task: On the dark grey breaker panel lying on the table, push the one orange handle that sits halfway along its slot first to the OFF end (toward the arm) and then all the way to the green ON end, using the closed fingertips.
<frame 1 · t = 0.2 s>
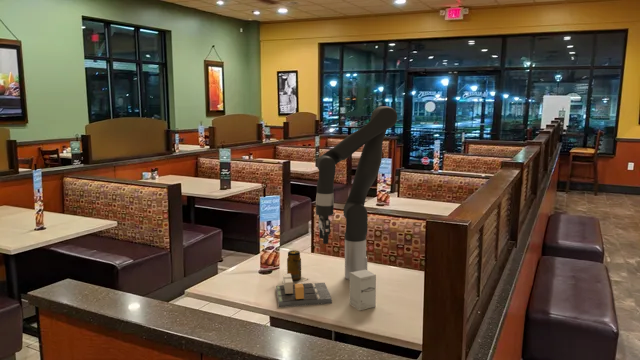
hand: (323, 240, 206), 17 cm above the table, tool pointing down, fingers open, 8 cm apart
tripped breaker: (299, 291, 184), point 5 cm above the table, slide at 4.5 cm
panel: (302, 296, 190), on the table
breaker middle: (288, 286, 189), point 5 cm above the table, slide at 8.0 cm
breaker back: (287, 280, 195), point 5 cm above the table, slide at 8.0 cm
condiment: (295, 279, 210), on the table
supplement box: (362, 306, 181), on the table
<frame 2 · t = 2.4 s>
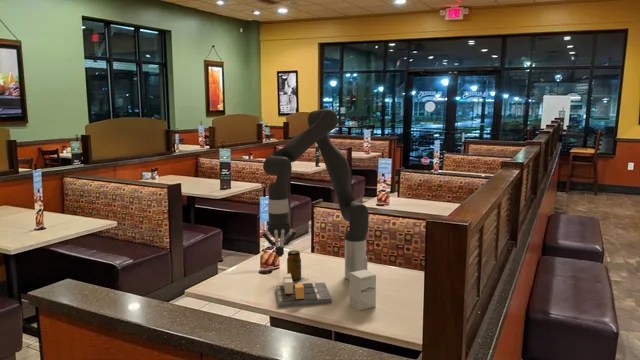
hand: (279, 256, 180), 19 cm above the table, tool pointing down, fingers closed
nothing on the table moved.
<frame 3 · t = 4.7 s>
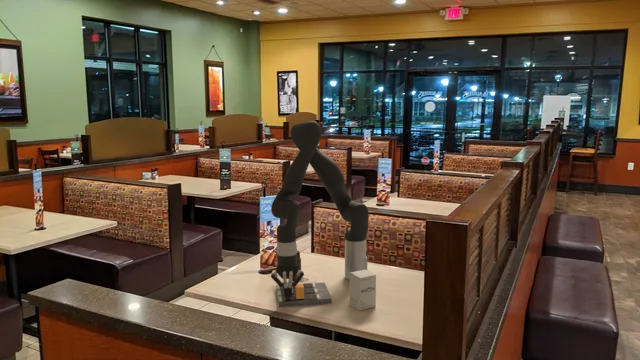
hand: (288, 296, 183), 3 cm above the table, tool pointing down, fingers closed
tripped breaker: (299, 291, 184), point 5 cm above the table, slide at 4.4 cm, touching gripper
everything else where it was.
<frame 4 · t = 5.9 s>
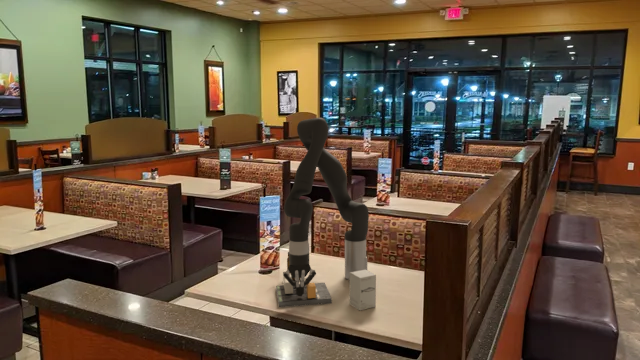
hand: (299, 295, 184), 3 cm above the table, tool pointing down, fingers closed
tripped breaker: (311, 290, 184), point 5 cm above the table, slide at 0.0 cm, touching gripper
everything else where it was.
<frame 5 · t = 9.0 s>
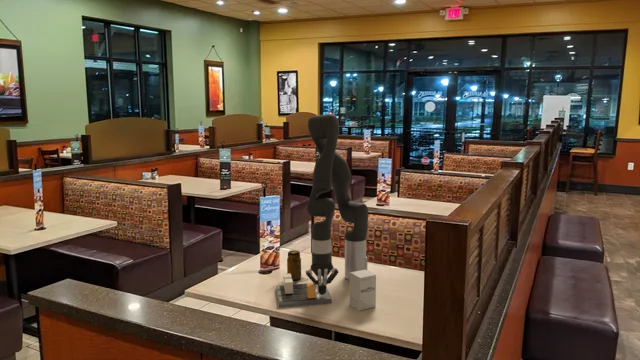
hand: (322, 294, 185), 3 cm above the table, tool pointing down, fingers closed
nothing on the table moved.
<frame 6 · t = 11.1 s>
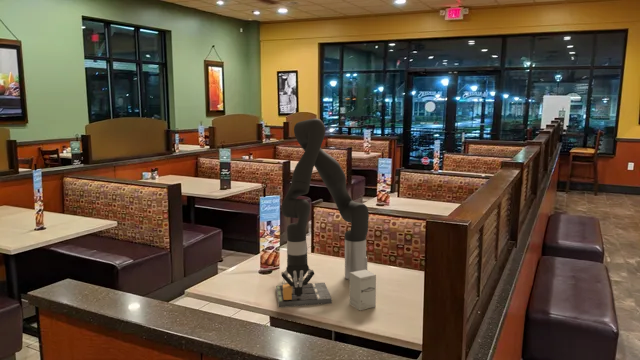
hand: (298, 295, 184), 3 cm above the table, tool pointing down, fingers closed
tripped breaker: (287, 292, 183), point 5 cm above the table, slide at 9.1 cm, touching gripper
everything else where it was.
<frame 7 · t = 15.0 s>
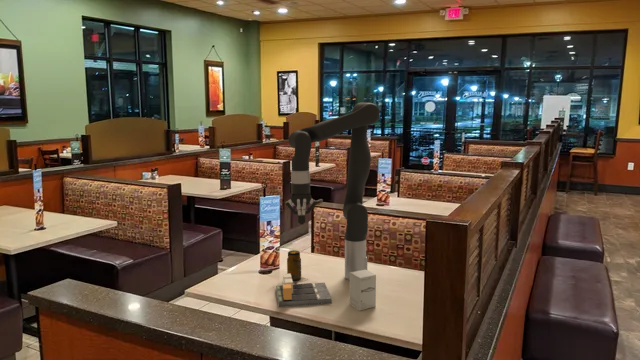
hand: (301, 223, 196), 27 cm above the table, tool pointing down, fingers closed
tripped breaker: (287, 292, 183), point 5 cm above the table, slide at 9.1 cm
everything else where it was.
at the end: tripped breaker slide at 9.1 cm; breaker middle slide at 8.0 cm; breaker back slide at 8.0 cm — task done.
